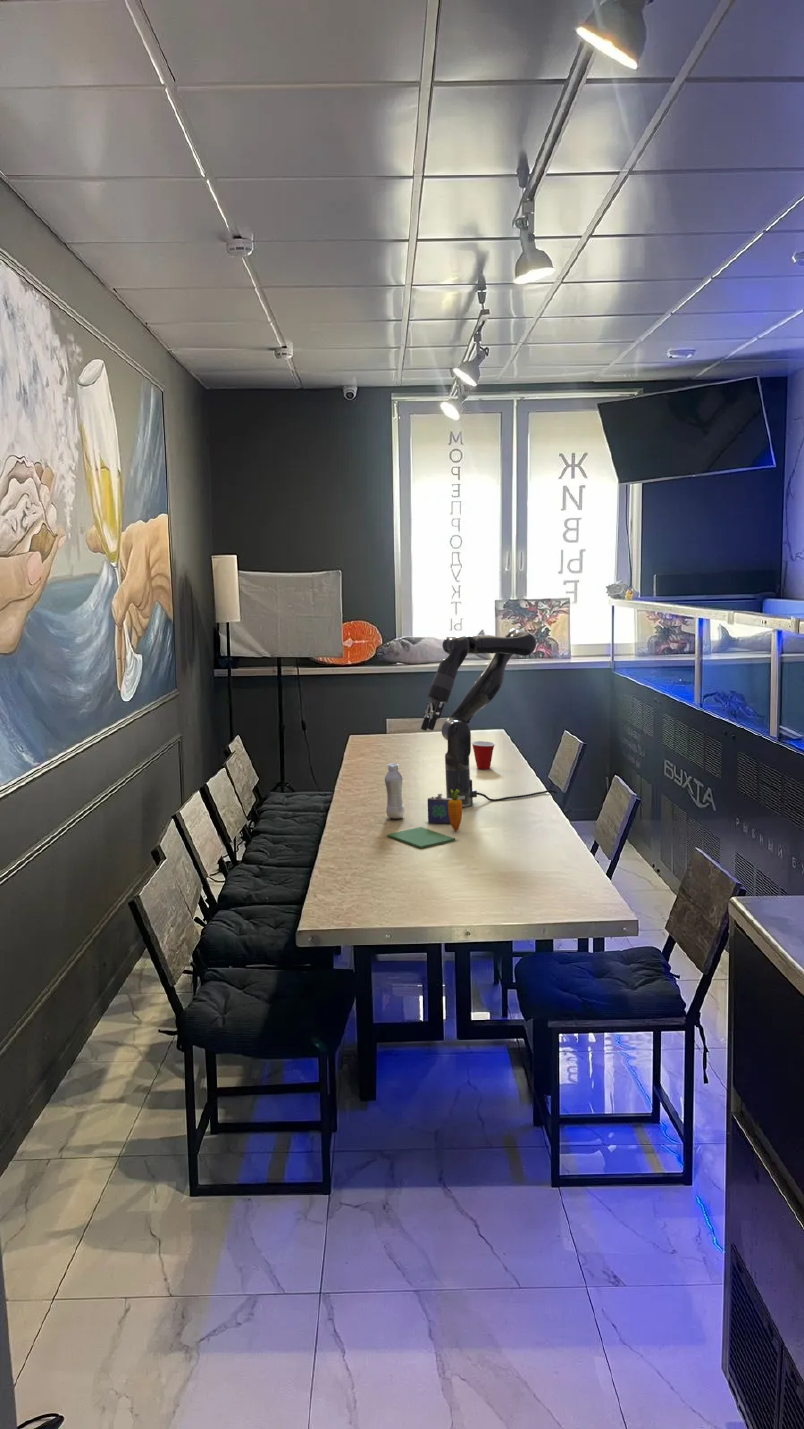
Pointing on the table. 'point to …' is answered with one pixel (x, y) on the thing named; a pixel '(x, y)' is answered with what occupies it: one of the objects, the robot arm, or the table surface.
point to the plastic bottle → (394, 792)
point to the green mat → (421, 837)
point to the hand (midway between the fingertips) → (426, 729)
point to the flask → (438, 810)
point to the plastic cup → (483, 754)
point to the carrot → (455, 810)
